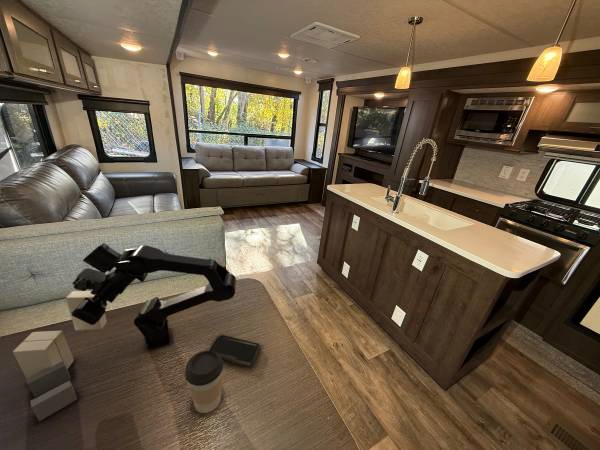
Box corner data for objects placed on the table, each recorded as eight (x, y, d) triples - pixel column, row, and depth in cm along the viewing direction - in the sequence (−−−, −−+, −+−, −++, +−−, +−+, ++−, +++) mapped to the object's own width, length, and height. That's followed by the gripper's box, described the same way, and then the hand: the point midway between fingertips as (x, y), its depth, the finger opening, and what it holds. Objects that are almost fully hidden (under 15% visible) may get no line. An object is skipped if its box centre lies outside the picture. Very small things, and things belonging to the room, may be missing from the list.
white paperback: (107, 321, 78) (99, 290, 73) (101, 329, 75) (94, 297, 71) (81, 323, 76) (72, 291, 72) (75, 330, 74) (65, 297, 69)
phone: (219, 334, 85) (260, 344, 83) (219, 336, 85) (260, 346, 83) (207, 353, 78) (252, 365, 75) (207, 356, 78) (252, 367, 76)
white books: (74, 360, 73) (62, 330, 68) (59, 380, 68) (45, 349, 63) (46, 362, 72) (32, 332, 67) (28, 383, 66) (12, 351, 61)
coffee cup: (204, 426, 61) (200, 386, 55) (181, 403, 65) (175, 364, 59) (232, 395, 68) (230, 357, 62) (209, 376, 72) (206, 339, 66)
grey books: (69, 374, 69) (63, 360, 67) (77, 399, 64) (71, 385, 62) (33, 392, 64) (26, 378, 62) (39, 421, 59) (31, 407, 57)
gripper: (110, 246, 76) (78, 277, 79) (69, 284, 59) (31, 321, 62) (142, 267, 81) (112, 295, 83) (113, 307, 64) (76, 341, 66)
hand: (86, 311), depth 74 cm, fingers closed on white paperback, 3 cm apart
